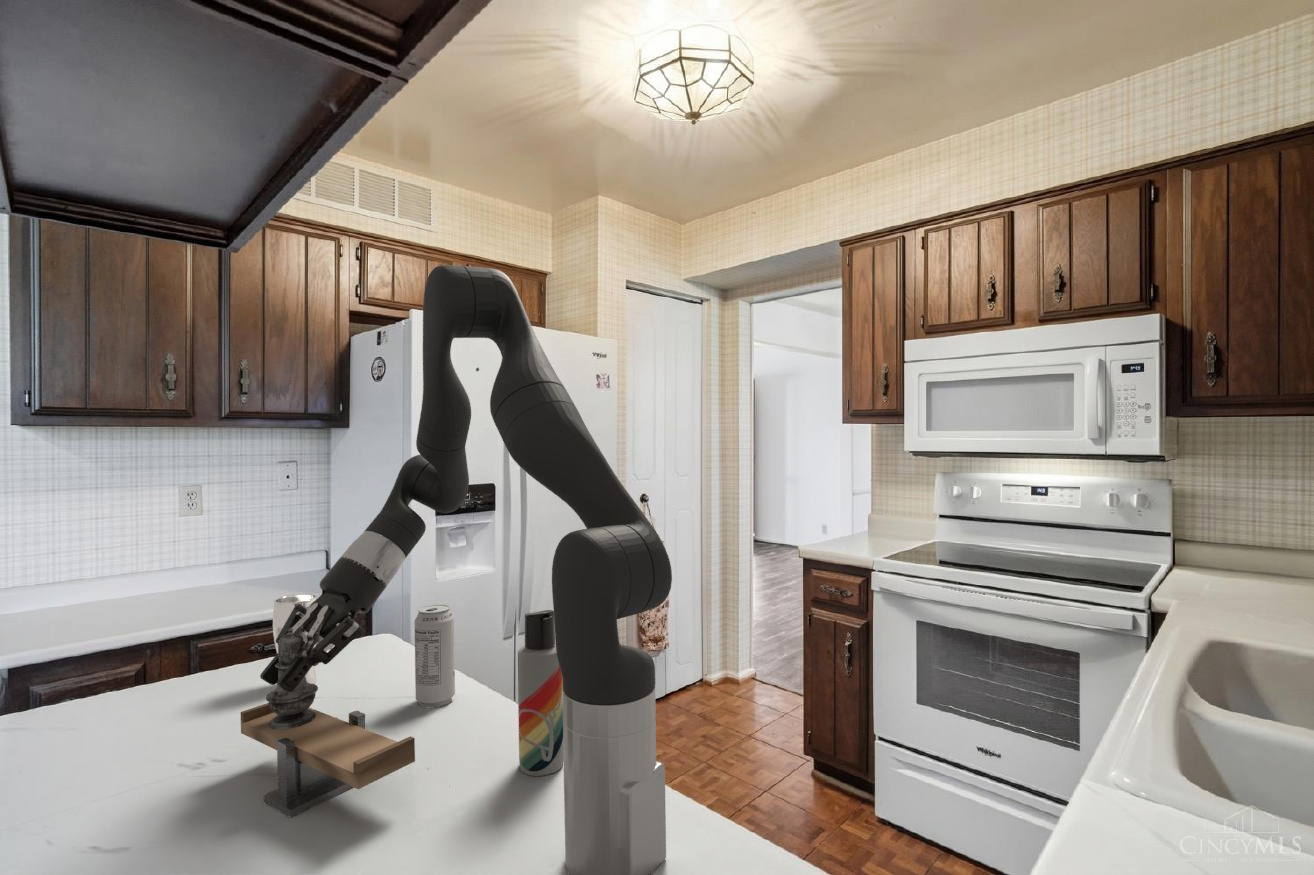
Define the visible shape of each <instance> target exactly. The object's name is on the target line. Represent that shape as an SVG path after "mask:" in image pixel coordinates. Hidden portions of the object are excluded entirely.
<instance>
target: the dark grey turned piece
mask: <svg viewBox="0 0 1314 875" xmlns="http://www.w3.org/2000/svg"><path fill="white" fill-rule="evenodd" d="M293 630H294V629H292V628H291V627H290V628H289V630H287V631H288V632H289V633H287V634H286V635H284V636H283V637H281V638H280V639H279V642H278V659H279V662H278V663H276V664H275V667H276V668H278V680H279V678H280V677H281V676H282V674H283V673H284V672H285V671H286V669H287V668H288V667H289V666H290V664H291V663H292V662H293V661H294V659H295V658H296V657H299V658H300V656H299V654H300V652H301V651H302V649H303V647H304V644H303V637H302V636H301V635H299V634H296V633H293V632H292V631H293ZM317 691H319V687H318V685H317V684H316V683H315V684H311V683H307V680H306V677H305V676H304V677H303V679H302V680H301V681H300V683H299V684H298V685H297V686H296V688H295V689H294V690H293V691H292V692H288V691H285V690H284V689H282V688H281V687H279V686H278V685H277V684H276V687H275V689H274V690H272V691H270V692H269V693H267V694H266V696H265V700H266V701H267V703H269V706H270V708H271V710H272V712H274V713H275V714H277V716H276V717H275V718H273V719H272V720H271V721H270V723H269V726H270V727H271V728H273V729H290V728H295V727H299V726H302V725H304V724H307V723H309V722H311V721H312V720H313V719H314V718H315V717H316V713H315V712H314V711H312V710H309V709H308V708H311V706H312V704H314V702H315V698H316V693H317Z"/></svg>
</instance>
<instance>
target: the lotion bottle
mask: <svg viewBox="0 0 1314 875" xmlns="http://www.w3.org/2000/svg"><path fill="white" fill-rule="evenodd" d="M517 696H518V697H517V700H518V704H517V705H518V710H517V711H518V760H519V761H518V762H519V763H518V764H519V769H520V771H522V773H523V774H525V775H529V776H533V777H543V776H548V775H552V774H554V773H556V772H558V771H559V770H560V769H561V768H562V767H563V766H564V744H563V678H562V673H561V669H560V665H559V662H558V657H557V652H556V640H555V622H554V610H552V609H546V610H540V611H535V612H534V611H533V612H529V613H528V612H527V613H524V645H523V646H521V647H520V648H519V649H518V650H517Z"/></svg>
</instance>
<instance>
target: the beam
mask: <svg viewBox="0 0 1314 875" xmlns="http://www.w3.org/2000/svg"><path fill="white" fill-rule="evenodd" d="M308 709H309V710H312V711H314V712H315V713H316V717H315V718H314V719H313V720H312V721H311V722H309V723H307V724H304V725H302V726H299V727H295V728H290V729H273V728H271V727H270V726H269V723H270V721H271V720H272V719H273V718H275V717H276V716H277V714H275V713H274V712H272V710H271V708H270V706H269V702H266V703H264V704H261V705H258V706H254V707H252V708H249V709H245V710H243V711H240V733H241V734H242V735H244V736H246V737H248V738H250V739H252V740H254V741H257V742H258V743H261V744H262V745H265V746H267V747H269V748H271V749H273V750H275V751H277V741H278V740H281V739H283V738H288V739H290V740H292V741H294V742H295V759H296V760H298V761H300V762H302V763H304V764H306V765H308V766H311V767H313V768H315V769H317V770H319V771H321V772H323V773H325V774H327V775H329V776H331V777H333V778H336V779H338V780H340V781H342V782H344V783H346V784H348V785H350V786H352V788H354V789H357V790H360V789H362V788H364V787H366V786H369V785H370V784H372V783H374V782H377V781H378V780H381V779H382V778H384V777H386V776H389V775H390V774H392V773H394V772H396V771H398V770H400V769H403V768H405V767H407V766H409V765H411V764H412V763H415V762H416V744H415V743H416V741H415V738H416V737H413V736H412V735H411V736H408V737H405V738H404V739H401V740H399V741H396V740H394V739H392V738H389V737H387V736H385V735H381V734H379V733H376V732H374V731H371V730H369V729H366V728H365V729H364V728H361V727H358V726H356V725H353V724H351V723H349V721H346V720H343V719H340V718H338V717H335V716H332V715H329V714H328V713H324V712H322V711H320V710H317V709H314V708H312V707H309V708H308Z"/></svg>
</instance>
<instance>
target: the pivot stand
mask: <svg viewBox="0 0 1314 875" xmlns="http://www.w3.org/2000/svg"><path fill="white" fill-rule="evenodd" d="M348 723H351V724H353V725H356V726H358V727H361V728H364V729H366V713H363V712H361V711H359V710H354V711H351V712H349V713H348ZM276 751H277V752H276V754H277V756H276V758H277V760H276V761H277V762H276V766H277V788H276V789H273V790H272V791H269V792H268V793H265V794H263V802H264V803H265V804H267V805H269V806H270V807H272V808H274V809H276V810H277V811H279V812H280V813H282V814H284V815H285V816H287V817H288V818H293V817H295V816H297V815H300V814H301V813H303V812H305V811H307V810H309V809H311V808H313V807H315V806H317V805H319V804H322V803H324V802H325V801H328V800H330V799H332V798H334V797H335V796H338V795H339V794H343V793H344V792H346V791H348V790H350V789H353V787H352V786H350V785H348V784H346V783H344V782H342V781H340V780H338V779H336V778H333V777H331V776H329V775H327V774H325V773H323V772H321V771H319V770H317V769H315V768H313V767H311V766H308V765H306V764H304V763H302V762H300V761H298V760H296V759H295V742H294V741H292V740H290V739H288V738H283V739H281V740H278V741H277V750H276Z"/></svg>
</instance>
